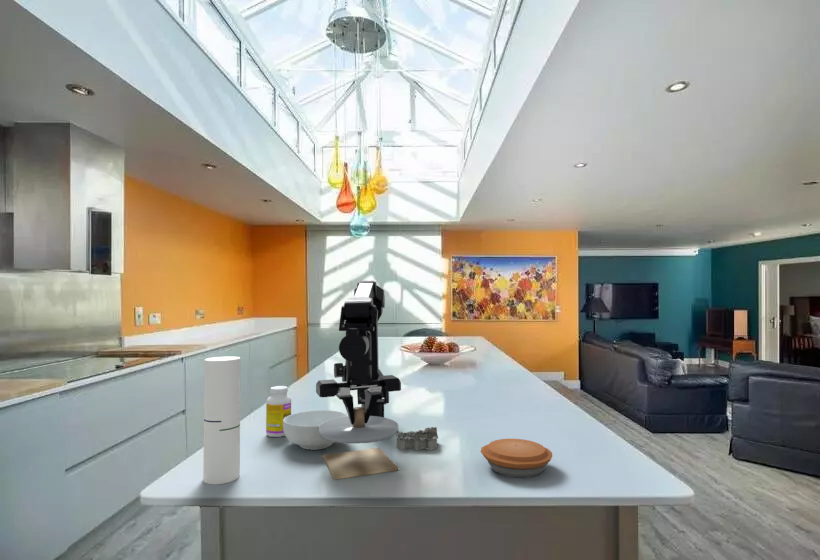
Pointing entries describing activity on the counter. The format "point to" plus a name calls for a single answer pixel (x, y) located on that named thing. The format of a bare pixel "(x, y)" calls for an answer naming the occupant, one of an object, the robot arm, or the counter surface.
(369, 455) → the plate
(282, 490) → the counter surface
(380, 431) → the lid
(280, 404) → the supplement bottle
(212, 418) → the cylindrical container
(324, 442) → the cereal bowl
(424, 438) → the egg carton
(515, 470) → the pie
